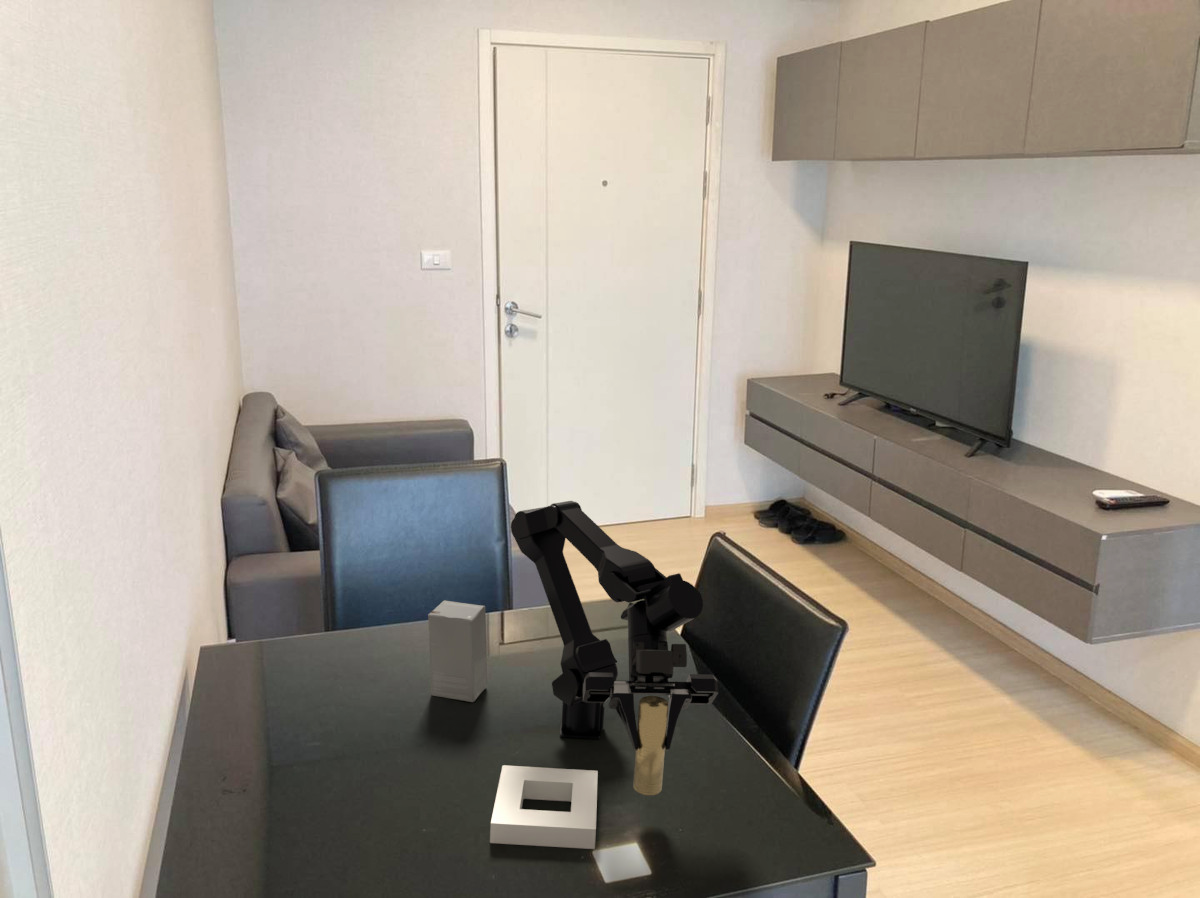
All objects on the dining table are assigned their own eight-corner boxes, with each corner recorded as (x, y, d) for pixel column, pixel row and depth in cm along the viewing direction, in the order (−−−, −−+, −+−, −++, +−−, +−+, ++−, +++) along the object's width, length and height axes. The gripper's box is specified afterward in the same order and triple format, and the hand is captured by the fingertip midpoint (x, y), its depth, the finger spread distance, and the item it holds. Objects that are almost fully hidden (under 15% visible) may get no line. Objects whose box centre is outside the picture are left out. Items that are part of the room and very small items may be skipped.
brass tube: (633, 794, 135) (639, 709, 131) (633, 778, 138) (638, 695, 135) (662, 796, 135) (669, 711, 131) (661, 779, 138) (667, 696, 135)
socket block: (490, 842, 130) (490, 823, 129) (501, 783, 143) (502, 765, 143) (594, 849, 130) (595, 829, 129) (596, 789, 143) (597, 770, 143)
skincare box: (487, 687, 172) (490, 604, 168) (471, 706, 165) (473, 619, 161) (443, 679, 174) (445, 596, 170) (426, 697, 167) (427, 611, 164)
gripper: (588, 619, 134) (588, 733, 126) (721, 622, 136) (730, 735, 127) (582, 647, 143) (582, 754, 135) (707, 649, 145) (714, 756, 137)
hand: (651, 750), depth 134 cm, fingers closed on brass tube, 4 cm apart
